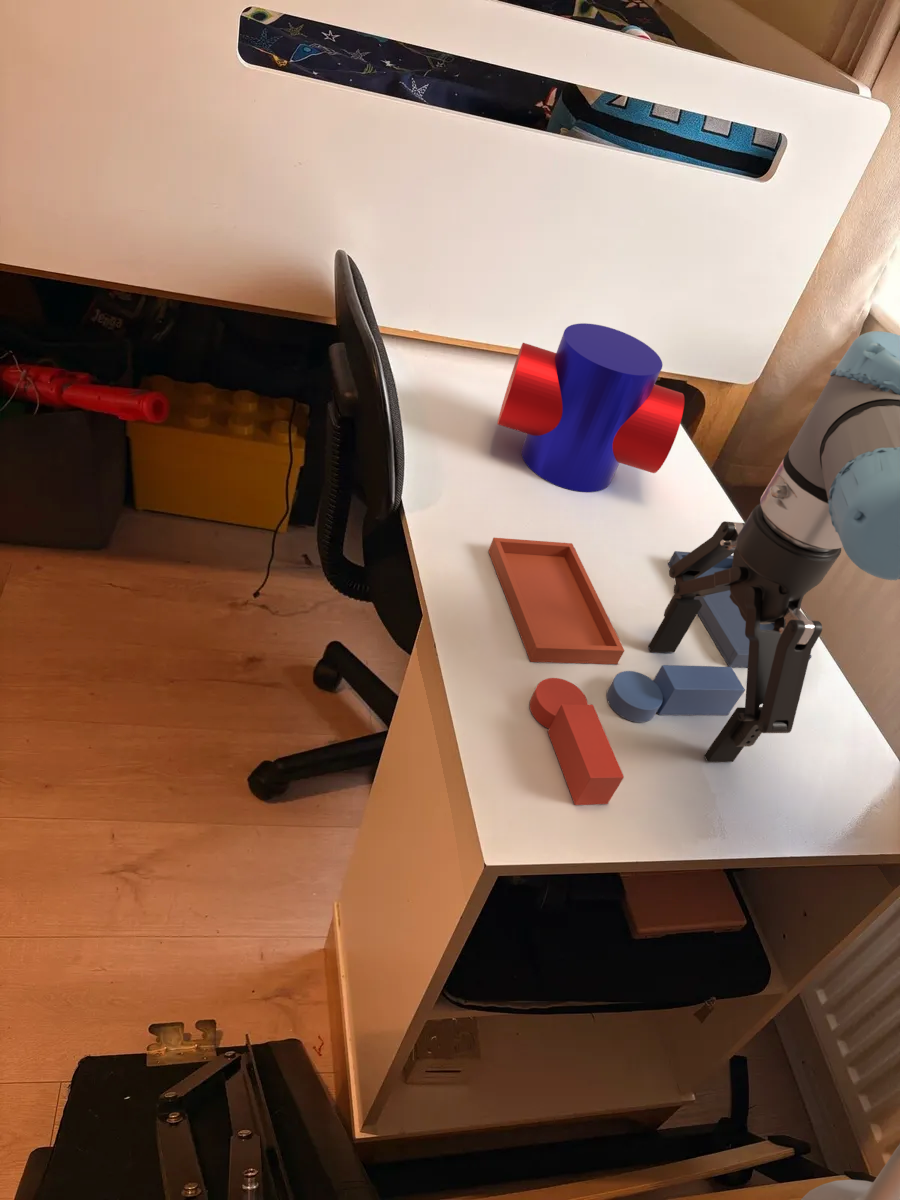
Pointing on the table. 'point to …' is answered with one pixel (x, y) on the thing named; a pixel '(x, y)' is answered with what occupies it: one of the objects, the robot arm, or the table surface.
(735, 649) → the blue tray
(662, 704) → the blue spoon
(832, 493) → the robot arm
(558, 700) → the red spoon
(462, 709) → the table surface
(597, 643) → the red tray
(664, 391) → the blue red crossed cylinders
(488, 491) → the table surface
